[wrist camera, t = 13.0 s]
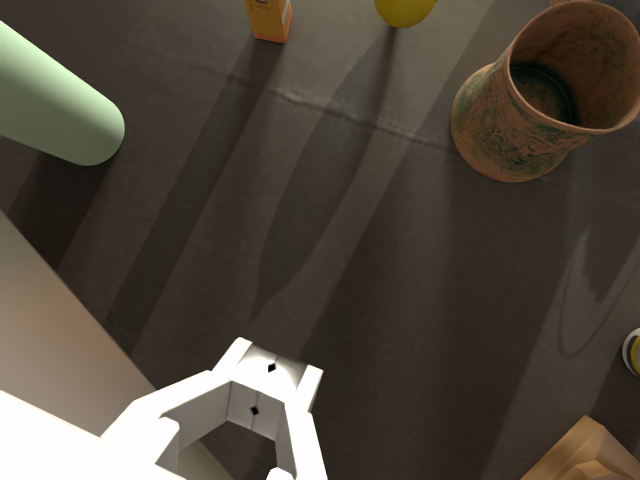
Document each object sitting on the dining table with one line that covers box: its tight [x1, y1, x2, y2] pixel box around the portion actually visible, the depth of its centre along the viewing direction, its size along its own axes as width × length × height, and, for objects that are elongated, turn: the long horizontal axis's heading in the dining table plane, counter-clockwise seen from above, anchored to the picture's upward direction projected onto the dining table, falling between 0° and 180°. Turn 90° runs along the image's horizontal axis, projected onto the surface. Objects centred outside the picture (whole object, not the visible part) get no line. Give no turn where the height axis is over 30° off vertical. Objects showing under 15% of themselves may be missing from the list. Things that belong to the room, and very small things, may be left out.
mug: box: [450, 0, 640, 182], centre depth 28 cm, size 12×18×12 cm, turn 169°
